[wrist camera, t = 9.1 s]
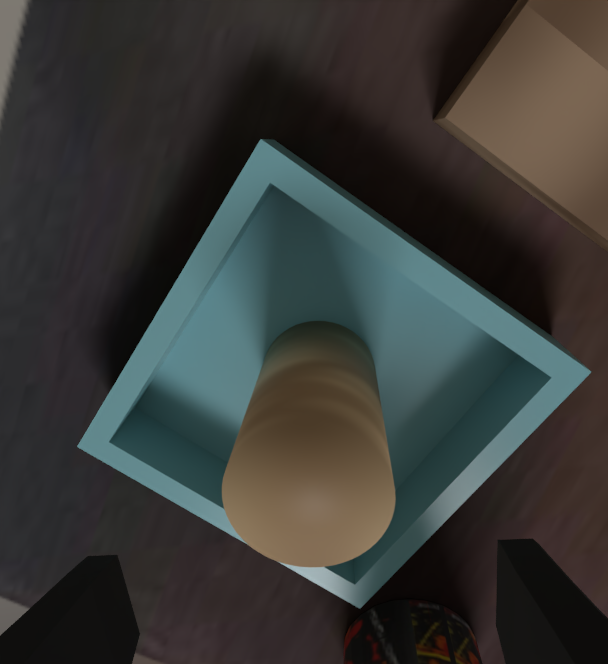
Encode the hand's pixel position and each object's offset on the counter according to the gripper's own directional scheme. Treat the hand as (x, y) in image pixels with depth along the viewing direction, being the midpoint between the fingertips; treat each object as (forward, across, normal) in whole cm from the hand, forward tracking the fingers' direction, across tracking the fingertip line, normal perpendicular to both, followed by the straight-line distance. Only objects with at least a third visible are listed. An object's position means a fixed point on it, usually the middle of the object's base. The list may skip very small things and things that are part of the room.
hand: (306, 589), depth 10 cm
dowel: (+9, 0, 0) cm, 9 cm away
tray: (+10, 0, 0) cm, 10 cm away
